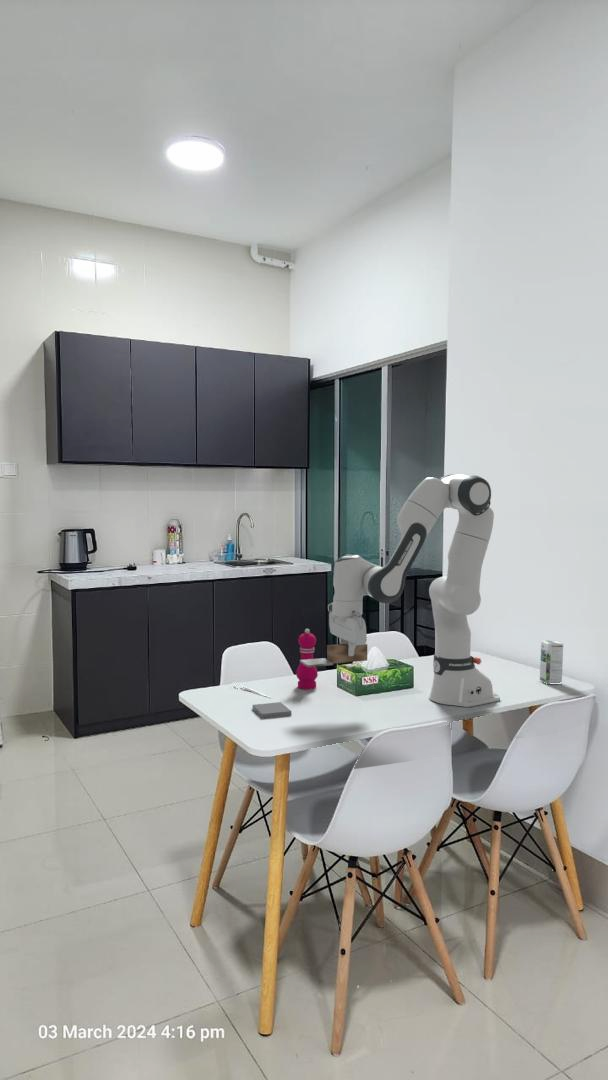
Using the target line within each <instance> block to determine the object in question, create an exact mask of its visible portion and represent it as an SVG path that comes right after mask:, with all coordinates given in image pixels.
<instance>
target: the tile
mask: <svg viewBox="0 0 608 1080" xmlns="http://www.w3.org/2000/svg"><path fill="white" fill-rule="evenodd" d="M252 710H253V711H254V712H255V713H256V714H257V716H259V717H260V718H261V719H262V718H263V719H271V718H270V717H272V718H279V717H290V715H291V716H292V710H291V709H289V708H288V707H287V706H286V705H285V704H284V703H282V702H281V701H279V702H268V703H257V704H252Z"/></svg>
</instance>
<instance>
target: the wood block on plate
mask: <svg viewBox="0 0 608 1080" xmlns="http://www.w3.org/2000/svg"><path fill="white" fill-rule="evenodd" d="M348 647H349V645H348V643H347V644H340V643H338V644H337V643H336V644H327V645H326V658H325V657H324V658H323V657H322V658H313V659H307V660H301V659H299V663H300V662H301V663H302V664H304V665H305V666H307V667H316V668H317V667H324V666H327V667H328V666H333V665H334V664H341V663H342V664H343V663H344V664H345V663H352V662H353V663H355V662H365V661H366V662H367V661H368V644H367V643H366V644H364V645H356V647H355V650H354V656H348V655H347V650H348Z"/></svg>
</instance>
